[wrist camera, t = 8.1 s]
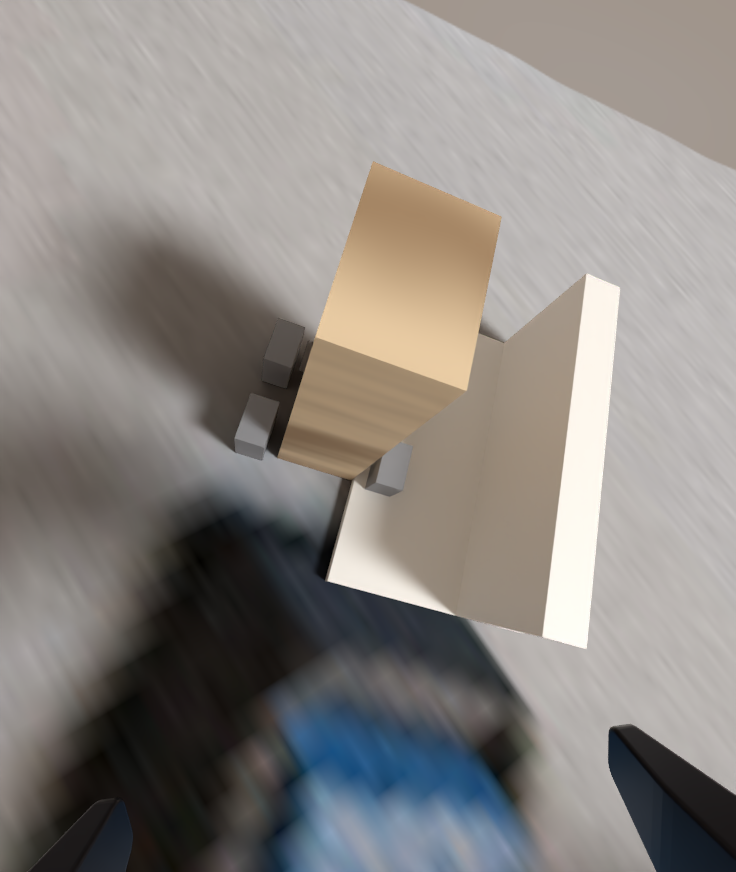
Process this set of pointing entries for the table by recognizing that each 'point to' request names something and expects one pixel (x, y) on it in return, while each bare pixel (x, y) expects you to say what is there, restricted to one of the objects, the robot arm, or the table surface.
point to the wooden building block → (392, 325)
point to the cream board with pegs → (485, 477)
